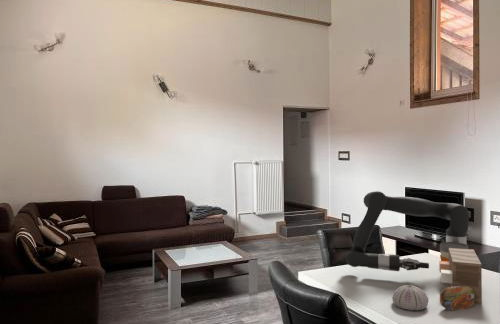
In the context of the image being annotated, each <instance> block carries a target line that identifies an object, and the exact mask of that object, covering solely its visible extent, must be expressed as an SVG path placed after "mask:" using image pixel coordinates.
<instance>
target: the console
mask: <svg viewBox="0 0 500 324" xmlns="http://www.w3.org/2000/svg"><path fill="white" fill-rule="evenodd" d="M449 263H450V270H452V283H448V285H449V287H454V286H460V285H465V286H469V287H471V288H473V289H474V291H475V294H476V300H475V303H474V304H477V305H482V304H483V301H482V300H483V299H482V297H483V295H482V291H483V290H482V286H483V284H482V283H483V282H482V277H483V276H482V275H483V274H482V270H483V269H482V267H483V266H482V262H481V260H480V259H479V257H478V255H477V254H476V252H475V249H471V248H470V249H469V248H468V249H458V248H449ZM474 304H473V305H474Z"/></svg>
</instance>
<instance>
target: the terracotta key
mask: <svg viewBox="0 0 500 324" xmlns="http://www.w3.org/2000/svg"><path fill="white" fill-rule="evenodd" d="M438 264H439V265H438V267H439V268H438V270H439V273H440V274H441V270H450V263H449V262H447V261H441V260H439V263H438Z"/></svg>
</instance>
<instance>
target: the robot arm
mask: <svg viewBox="0 0 500 324" xmlns="http://www.w3.org/2000/svg"><path fill="white" fill-rule="evenodd" d="M363 204H364V206H365V207H366V208H367V210H366V213H365V215H364V217H363V219H362V220H361V222H360V224H359V226H358V227H357V229H356V231H355V233H354V237H353V239H352V242H351V244H352V245H351V249H350V251H349V252H347V253H346V254H345V258H344V259H345V262H346V264H347V265H349V266H350V267H352V268H357V267H361V268H362V267H363V268H369V269H374V270H375V269H376V270H382V271H391V272H400V269H404V270H406V271H415V270H416V271H417V270H419V269H429V268H430V263H429V262H421V261H419V260H417V259H413V258H410V257H407V258H403V259H401V256H400V255H399V254H391V253H388V254H387V253H379V254H378V253H366V252H365V251H366V248H367V247H368V244H369V241H370V237H371V235H372V233H373V230H374V228H375V225H376V224H377V221H378V219H379V217H380V215H381V214H382V212H383V211H389V212H390V211H391V212H395V213H397V214H403V215H408V216H414V217H436V218H441V219H444V220H446V221H449V224H450V225H449V227H448V228H446V230H445V235H446V236H445V242H458V243H463V244H466V245H468V244H467V234H468V231H469V222H470V221H469V220H470V219H469V217H470V216H469V209H468V208H467V207H466V206H465V205H462V204H460V203H459V204H458V203H453V202H451V203H450V202H436V201H435V202H434V201H431V200H428V199H424V198H419V197H411V196H389V195H386V194H385V193H383V192H382V191H378V190H376V191H371V192H368V193H366V195H365V196H364V197H363Z"/></svg>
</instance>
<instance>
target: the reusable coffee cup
mask: <svg viewBox="0 0 500 324" xmlns="http://www.w3.org/2000/svg"><path fill="white" fill-rule="evenodd" d="M449 248H458V249H469V245H468V244H467V245H466V244H463V243H458V242H446V241H443V242H440V243H439V250H440V251H439V252H440V254H439V256H440V261H447V262H449Z"/></svg>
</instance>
